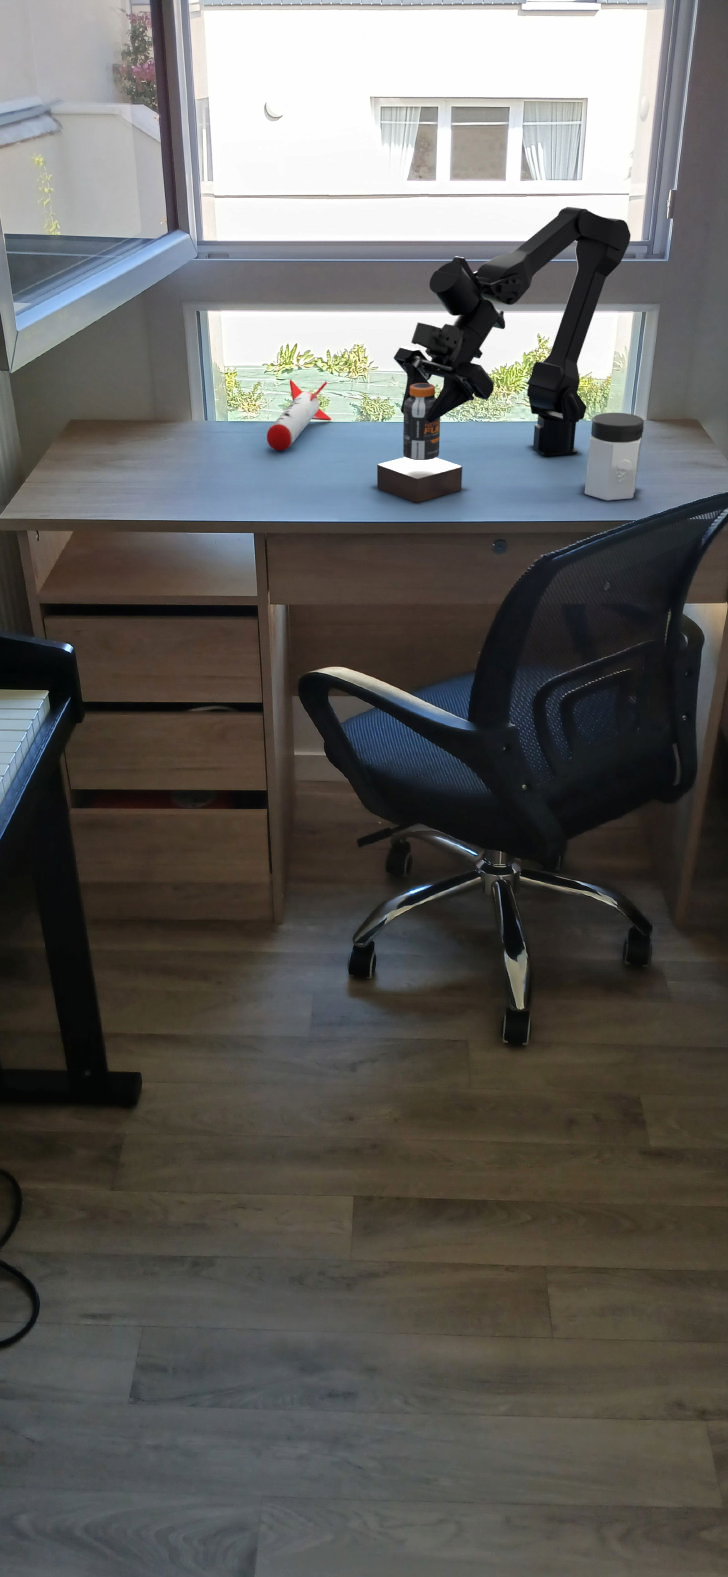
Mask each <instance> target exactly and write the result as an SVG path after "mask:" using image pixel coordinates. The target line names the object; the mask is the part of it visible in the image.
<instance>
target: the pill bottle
mask: <svg viewBox="0 0 728 1577" xmlns="http://www.w3.org/2000/svg"><path fill="white" fill-rule="evenodd" d="M435 395H436V385H434V384H431V383H430V384H427V383H417V384H412V385H411V386H410V396H411V397H410V398H408V399H407V400H406V401H405V402H404V414H403V432H402V434H403V437H402V439H403V440H402V444H403V445H402V454H403V457H406V458H408V459H412V460H431V459H434V458H438V457H439V455H440V436H441V417H440V418H438V419H436V420H435V421H433V422H432V423H430V422H428V421H427V419H426V418H427V416H428V414H429V411H430V409H431V408H432V406H433V404H434V402H435V401H436V399H437V397H436V396H435Z"/></svg>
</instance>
